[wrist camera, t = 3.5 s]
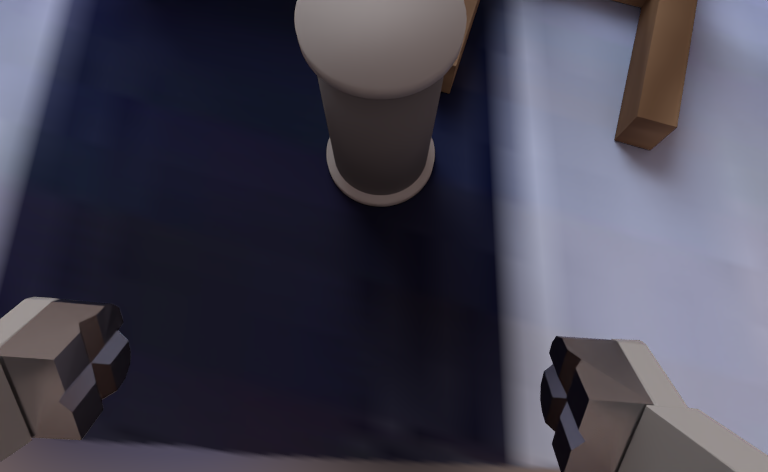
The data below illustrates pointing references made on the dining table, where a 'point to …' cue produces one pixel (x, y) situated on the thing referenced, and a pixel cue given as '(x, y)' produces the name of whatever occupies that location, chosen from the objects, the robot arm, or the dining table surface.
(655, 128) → the wooden frame
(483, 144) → the dining table surface
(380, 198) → the grey mushroom bollard
